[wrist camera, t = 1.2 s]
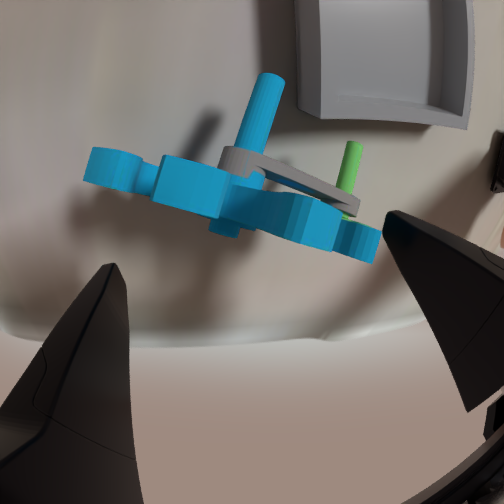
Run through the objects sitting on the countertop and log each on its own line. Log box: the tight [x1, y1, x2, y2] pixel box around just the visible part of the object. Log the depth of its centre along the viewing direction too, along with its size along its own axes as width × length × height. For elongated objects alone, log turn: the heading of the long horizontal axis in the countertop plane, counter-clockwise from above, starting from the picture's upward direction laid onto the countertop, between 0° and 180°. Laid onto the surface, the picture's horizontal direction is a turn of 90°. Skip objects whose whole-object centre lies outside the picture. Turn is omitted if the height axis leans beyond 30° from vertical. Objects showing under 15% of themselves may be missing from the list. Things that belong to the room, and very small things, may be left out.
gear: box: [83, 73, 382, 264], centre depth 9 cm, size 11×6×10 cm, turn 64°
